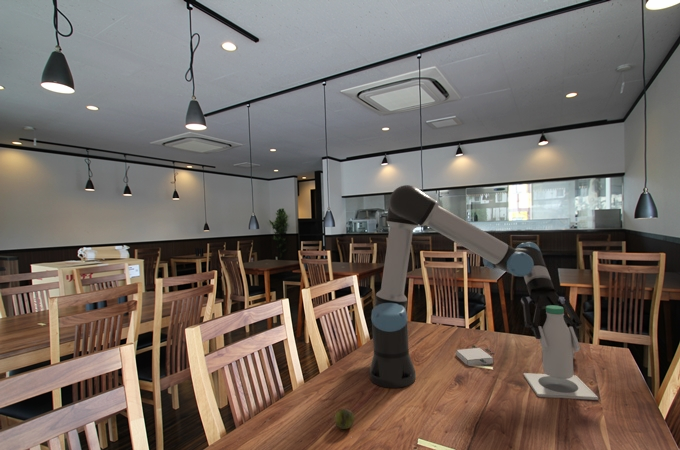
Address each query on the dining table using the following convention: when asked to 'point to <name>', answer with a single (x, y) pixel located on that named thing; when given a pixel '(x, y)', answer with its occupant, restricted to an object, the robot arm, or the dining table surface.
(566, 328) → the milk bottle
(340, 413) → the lime
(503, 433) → the dining table surface
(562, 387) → the pad
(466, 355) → the white block with labels
